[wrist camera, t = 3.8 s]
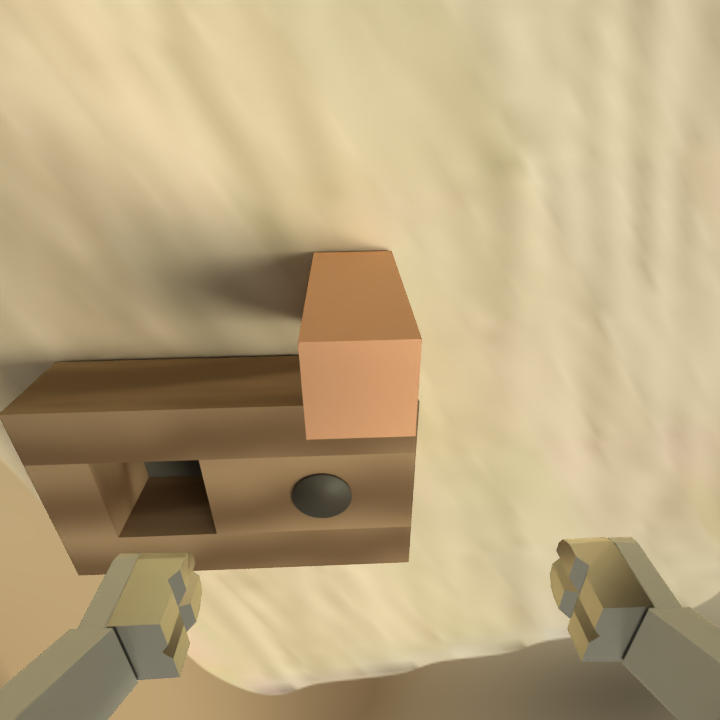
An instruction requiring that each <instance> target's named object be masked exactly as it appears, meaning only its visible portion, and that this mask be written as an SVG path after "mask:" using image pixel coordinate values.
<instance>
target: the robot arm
mask: <svg viewBox="0 0 720 720" xmlns="http://www.w3.org/2000/svg"><path fill="white" fill-rule="evenodd" d="M556 551H557V553H558V555H559V557H560V558H559V559H558V560H557V561H555V562H554V563H553V564H552V568H551V572H550V580H551V589H552V592H553V596H554V599H555V601H556V604H557V606H558V608H559V609H560V610H561V611H562V612H563V613H564V614H565V615H567V616H568V617H569V618H570V621H569V625H568V632H569V634H570V636H571V638H572V641H573V643H574V645H575V647H576V650H577V652H578V654H579V657H580V659H581V661H623V663H622V664H623V665H624V666H625V667H626V668H627V669H628V670H629V671H630V672H631V673H632V674H633V675H634V676H635V677H636V678H637V679H638V680H639V681H640V682H641V683H642V684H643V685H644V686H645V687H646V688H647V689H648V690H649V691H650V692H651V693H652V694H653V695H654V696H655V697H656V698H657V699H658V700H659V701H660V702H661V703H662V704H663V705H664V706H665V707H666V708H667V709H668V710H669V711H670V712H671V713H672V714H673V715H674V716H675V717H676V718H677V719H678V720H720V628H719V627H717V626H716V625H714V624H713V623H712V622H710V621H709V620H707V619H706V618H704V617H703V616H701V615H700V614H699V613H697V612H696V611H694V610H693V609H692V608H690V607H682V606H681V605H680V603H679V602H678V600H677V599H676V597H675V596H674V594H673V593H672V592H671V590H670V589H669V587H668V586H667V584H666V583H665V581H664V580H663V579H662V577H661V576H660V574H659V573H658V571H657V570H656V568H655V567H654V566H653V564H652V563H651V561H650V560H649V558H648V557H647V555H646V554H645V553H644V551H643V550H642V548H641V547H640V545H639V544H638V542H637V541H636V540H634V539H633V538H632V537H616V538H605V537H601V538H580V539H563V540H561V541H560V542H559V544H558V547H557V550H556ZM194 565H195V560H194V557H193V554H192V553H120V554H119V555H118V556H117V557H116V558H115V559H114V560H113V561H112V563H111V565H110V567H109V569H108V571H107V573H106V575H105V577H104V579H103V581H102V582H101V584H100V586H99V588H98V590H97V592H96V594H95V596H94V598H93V600H92V602H91V604H90V606H89V608H88V609H87V611H86V613H85V615H84V617H83V619H82V621H81V623H80V625H79V627H78V629H70V630H69V631H67V632H66V633H65V634H64V635H63V636H62V637H60V638H59V639H58V640H57V641H56V642H54V643H53V644H52V645H51V646H50V647H49V648H47V649H46V650H45V651H44V652H43V653H42V654H40V655H39V656H38V657H37V658H36V659H34V660H33V661H32V662H31V663H30V664H29V665H27V666H26V667H25V668H24V669H23V670H21V671H20V672H19V673H18V674H17V675H16V676H14V677H13V678H12V679H11V680H10V681H9V682H7V683H6V684H5V685H4V686H3V687H2V688H0V720H108V719H109V717H110V716H111V715H112V714H113V713H114V711H115V710H116V709H117V708H118V706H119V705H120V704H121V703H122V702H123V700H124V699H125V698H126V697H127V696H128V694H129V693H130V692H131V691H132V689H133V688H134V687H135V686H136V685H137V683H138V681H137V680H144V679H159V678H173V677H180V675H181V672H182V668H183V665H184V661H185V658H186V655H187V651H188V648H189V645H190V642H189V639H188V636H187V631H188V630H189V629H190V628H191V627H192V626H193V625H194V623H195V622H196V621H197V617H198V613H199V610H200V603H201V595H202V590H201V581H200V577H199V575H197V574H196V573H194V572H193V568H194Z"/></svg>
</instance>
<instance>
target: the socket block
mask: <svg viewBox="0 0 720 720" xmlns="http://www.w3.org/2000/svg"><path fill="white" fill-rule="evenodd" d="M418 413H419V400H418V406H417V421H416V436H405V437H374V438H343V439H312V440H306V429H305V418H304V407H303V395H302V384H301V373H300V361H299V356H266V357H229V358H192V359H155V360H118V361H81V362H56V363H55V364H53V365H52V366H51V367H50V368H49V369H48V370H47V371H46V372H45V373H44V374H43V375H41V376H40V377H39V378H38V379H37V380H36V381H35V382H34V383H33V384H32V385H30V386H29V387H28V388H27V389H26V390H25V391H24V392H23V393H22V394H21V395H20V396H18V397H17V398H16V399H15V400H14V401H13V402H12V403H11V404H10V405H9V406H7V407H6V408H5V409H4V410H3V411H2V412H1V413H0V419H1V421H2V423H3V425H4V427H5V429H6V431H7V433H8V435H9V437H10V439H11V441H12V443H13V445H14V447H15V449H16V451H17V453H18V455H19V457H20V459H21V461H22V463H23V465H24V467H25V469H26V471H27V473H28V475H29V477H30V479H31V481H32V483H33V485H34V487H35V489H36V491H37V493H38V495H39V497H40V499H41V501H42V503H43V505H44V507H45V509H46V511H47V513H48V515H49V517H50V519H51V521H52V523H53V525H54V527H55V529H56V531H57V533H58V535H59V537H60V539H61V540H62V543H63V545H64V546H65V549H66V551H67V553H68V554H69V556H70V559H71V560H72V563H73V565H74V566H75V568H76V571H77V572H78V574H79V575H99V574H106V573H107V571H108V569H109V567H110V565H111V563H112V561H113V560H114V559H115V558H116V557H117V556H118V555H119V554H120V553H192V554H193V557H194V560H195V565H194V568H193V571H200V570H225V569H250V568H274V567H299V566H324V565H349V564H374V563H399V562H409V547H410V532H411V517H412V502H413V487H414V472H415V457H416V442H417V428H418Z"/></svg>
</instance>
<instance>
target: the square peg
mask: <svg viewBox="0 0 720 720" xmlns="http://www.w3.org/2000/svg"><path fill="white" fill-rule="evenodd" d="M421 344H422V338H421V335H420V332H419V329H418V327H417V324H416V321H415V318H414V315H413V312H412V309H411V306H410V303H409V300H408V297H407V295H406V292H405V289H404V286H403V283H402V280H401V277H400V274H399V271H398V268H397V266H396V263H395V260H394V257H393V254H392V251H365V252H317V253H314V254H313V260H312V265H311V271H310V277H309V282H308V288H307V293H306V299H305V305H304V310H303V316H302V322H301V327H300V333H299V339H298V350H299V361H300V373H301V384H302V395H303V407H304V418H305V429H306V440H312V439H343V438H374V437H405V436H416V421H417V406H418V391H419V375H420V360H421Z"/></svg>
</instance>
